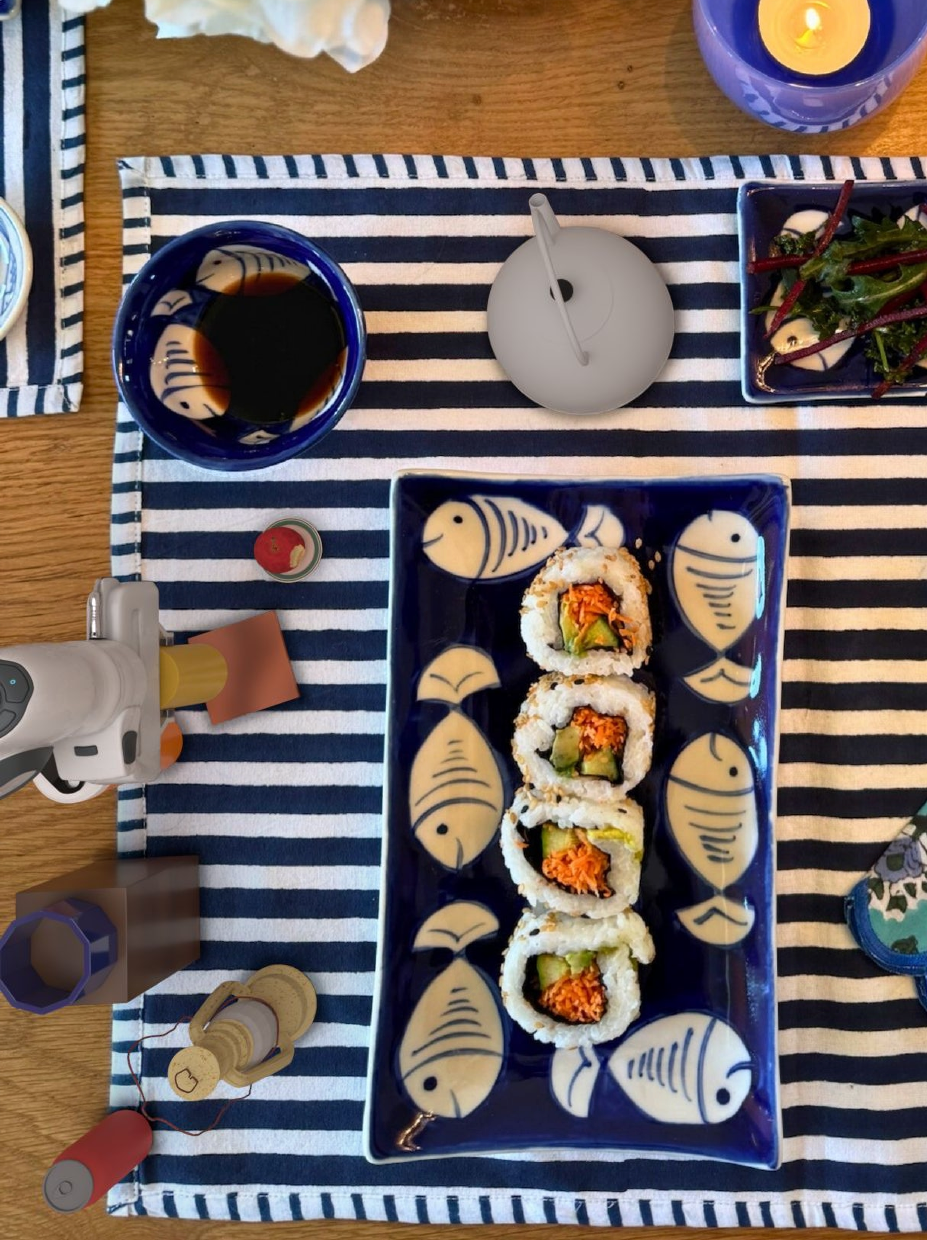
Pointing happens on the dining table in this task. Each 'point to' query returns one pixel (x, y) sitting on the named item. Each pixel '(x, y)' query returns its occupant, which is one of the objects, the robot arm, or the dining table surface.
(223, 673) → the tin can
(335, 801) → the dining table surface
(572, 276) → the kettle
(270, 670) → the coaster
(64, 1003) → the blue faceted ring
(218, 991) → the lantern
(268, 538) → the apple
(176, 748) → the shaker bottle
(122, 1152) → the beer can
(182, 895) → the stand
